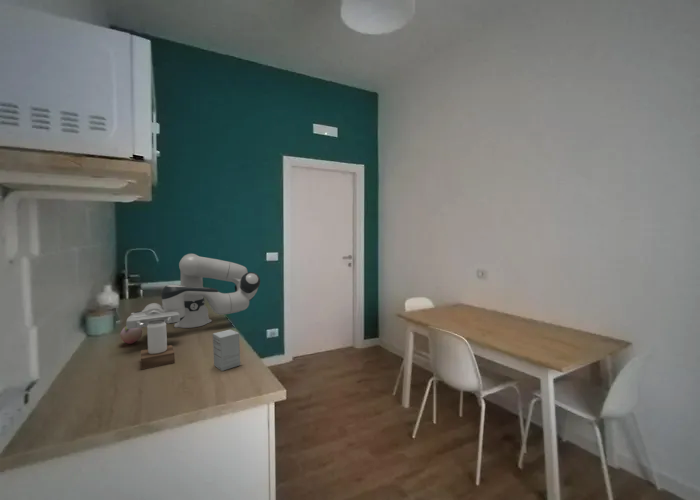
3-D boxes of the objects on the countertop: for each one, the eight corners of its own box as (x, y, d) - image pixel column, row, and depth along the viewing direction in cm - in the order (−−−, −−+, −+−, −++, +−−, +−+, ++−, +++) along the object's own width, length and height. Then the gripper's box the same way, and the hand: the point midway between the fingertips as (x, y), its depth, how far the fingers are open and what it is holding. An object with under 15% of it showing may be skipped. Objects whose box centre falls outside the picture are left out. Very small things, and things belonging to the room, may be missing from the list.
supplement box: (232, 360, 130) (231, 328, 130) (240, 365, 125) (239, 332, 125) (213, 365, 125) (212, 333, 125) (221, 371, 120) (220, 337, 119)
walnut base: (141, 360, 132) (140, 350, 132) (172, 354, 138) (172, 344, 138) (141, 369, 123) (140, 359, 123) (174, 362, 129) (174, 352, 128)
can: (170, 348, 133) (169, 319, 132) (159, 354, 126) (158, 323, 126) (155, 348, 134) (154, 319, 133) (144, 354, 127) (142, 323, 127)
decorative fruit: (141, 345, 149) (140, 323, 149) (119, 348, 146) (118, 326, 145) (144, 339, 158) (142, 319, 157) (123, 342, 154) (122, 321, 154)
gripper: (179, 320, 157) (182, 327, 145) (127, 327, 146) (126, 335, 134) (178, 307, 156) (181, 312, 145) (126, 313, 146) (125, 320, 134)
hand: (154, 323), depth 139 cm, fingers open, 8 cm apart
